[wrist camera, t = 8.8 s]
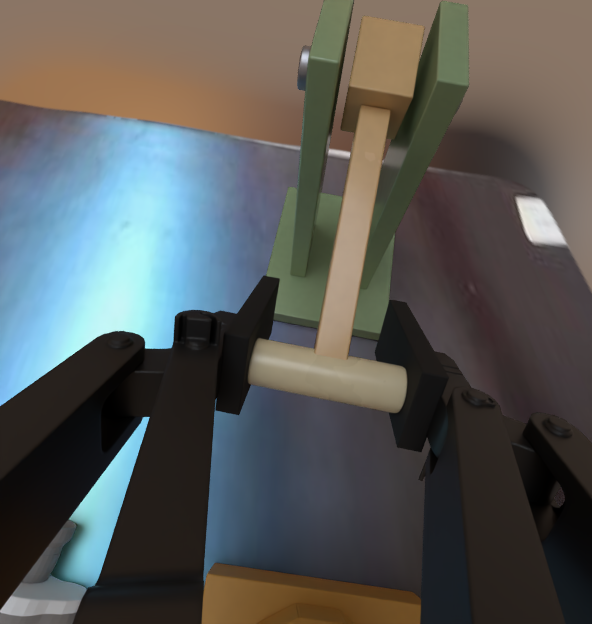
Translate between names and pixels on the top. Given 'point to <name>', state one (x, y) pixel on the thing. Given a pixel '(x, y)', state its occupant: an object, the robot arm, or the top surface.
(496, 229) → the top surface
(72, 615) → the binoculars
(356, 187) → the kicker arm
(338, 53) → the rod bracket
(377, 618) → the button block
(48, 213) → the top surface
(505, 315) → the top surface
